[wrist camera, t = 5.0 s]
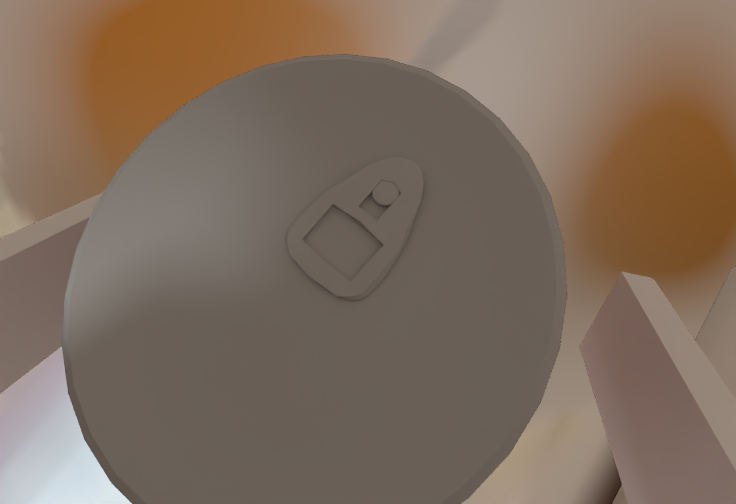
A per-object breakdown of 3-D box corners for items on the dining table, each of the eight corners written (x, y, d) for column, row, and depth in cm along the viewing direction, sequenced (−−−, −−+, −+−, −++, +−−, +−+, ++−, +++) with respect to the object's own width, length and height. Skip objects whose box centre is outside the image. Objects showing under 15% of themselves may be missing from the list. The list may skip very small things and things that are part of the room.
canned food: (489, 274, 16) (646, 135, 6) (412, 459, 15) (433, 725, 4) (330, 205, 18) (223, -7, 7) (245, 369, 16) (-46, 403, 6)
